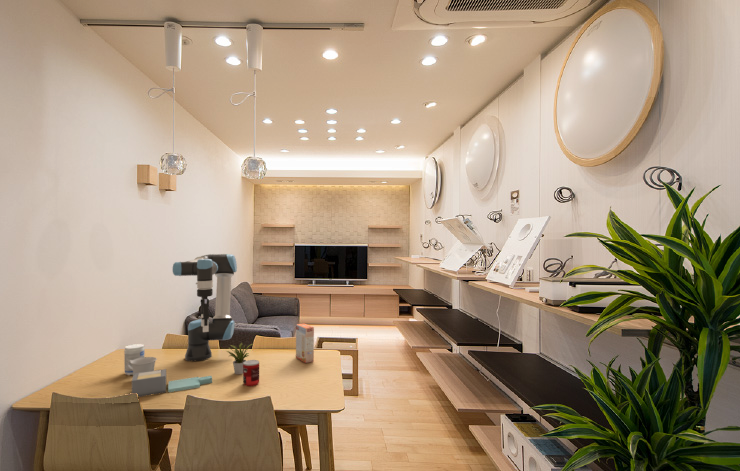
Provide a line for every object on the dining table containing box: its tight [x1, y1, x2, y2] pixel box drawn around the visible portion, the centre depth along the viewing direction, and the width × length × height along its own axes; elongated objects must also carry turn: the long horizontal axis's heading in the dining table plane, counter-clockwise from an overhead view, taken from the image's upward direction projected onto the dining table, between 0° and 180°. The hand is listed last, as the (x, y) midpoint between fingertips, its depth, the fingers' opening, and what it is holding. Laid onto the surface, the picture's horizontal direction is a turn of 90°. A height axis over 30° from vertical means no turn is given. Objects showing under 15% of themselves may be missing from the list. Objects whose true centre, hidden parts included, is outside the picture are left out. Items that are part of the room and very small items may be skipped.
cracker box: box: [295, 322, 315, 364], centre depth 237 cm, size 14×6×21 cm, turn 34°
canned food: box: [242, 359, 260, 387], centre depth 199 cm, size 8×8×11 cm
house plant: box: [226, 342, 253, 375], centre depth 216 cm, size 14×14×16 cm
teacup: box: [127, 356, 158, 374], centre depth 205 cm, size 12×15×10 cm
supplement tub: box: [123, 343, 145, 376], centre depth 214 cm, size 10×10×15 cm
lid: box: [167, 375, 213, 393], centre depth 197 cm, size 20×12×2 cm, turn 117°
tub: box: [131, 368, 167, 398], centre depth 189 cm, size 14×11×8 cm
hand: (204, 329), depth 204 cm, fingers open, 13 cm apart
